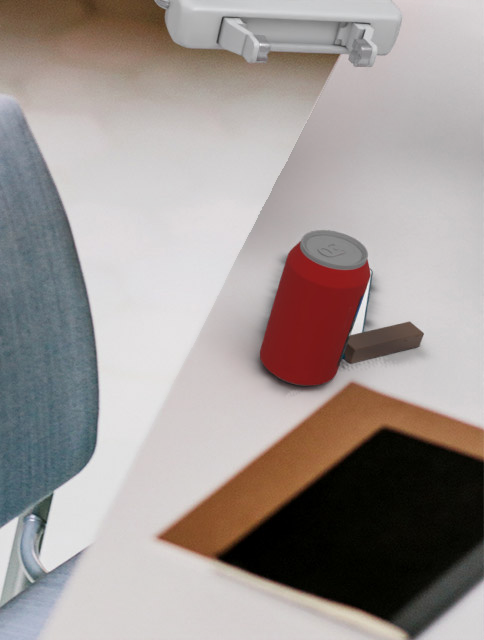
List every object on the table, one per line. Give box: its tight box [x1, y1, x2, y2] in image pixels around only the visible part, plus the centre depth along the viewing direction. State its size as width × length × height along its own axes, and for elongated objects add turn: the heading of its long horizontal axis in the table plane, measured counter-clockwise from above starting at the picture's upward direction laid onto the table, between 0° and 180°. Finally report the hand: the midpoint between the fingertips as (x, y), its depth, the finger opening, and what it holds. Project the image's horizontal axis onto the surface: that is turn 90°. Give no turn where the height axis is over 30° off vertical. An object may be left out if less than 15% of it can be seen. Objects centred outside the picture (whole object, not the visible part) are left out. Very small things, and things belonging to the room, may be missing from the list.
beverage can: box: [259, 229, 371, 387], centre depth 98 cm, size 7×7×12 cm
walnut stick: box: [344, 321, 425, 364], centre depth 105 cm, size 8×2×2 cm, turn 117°
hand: (314, 56), depth 96 cm, fingers open, 8 cm apart
